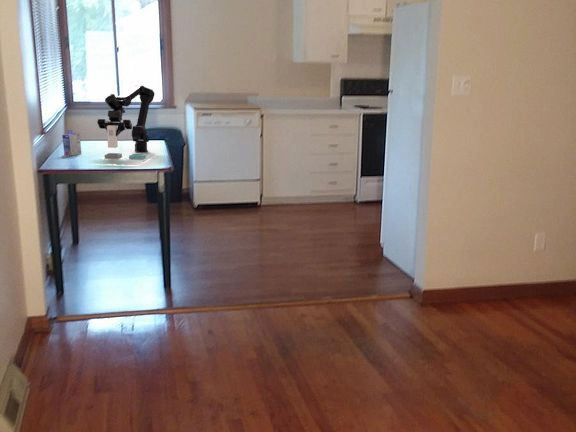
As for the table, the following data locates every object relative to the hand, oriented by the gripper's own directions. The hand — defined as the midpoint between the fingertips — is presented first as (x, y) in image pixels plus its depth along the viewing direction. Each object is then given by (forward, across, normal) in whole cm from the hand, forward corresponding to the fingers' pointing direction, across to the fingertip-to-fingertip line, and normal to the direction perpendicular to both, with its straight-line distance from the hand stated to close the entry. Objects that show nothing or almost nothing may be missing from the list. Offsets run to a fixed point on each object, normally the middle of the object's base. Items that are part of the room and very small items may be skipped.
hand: (112, 135), depth 347 cm
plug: (+4, 0, +5) cm, 7 cm away
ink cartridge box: (0, -29, +19) cm, 35 cm away
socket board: (+9, +7, +10) cm, 15 cm away
